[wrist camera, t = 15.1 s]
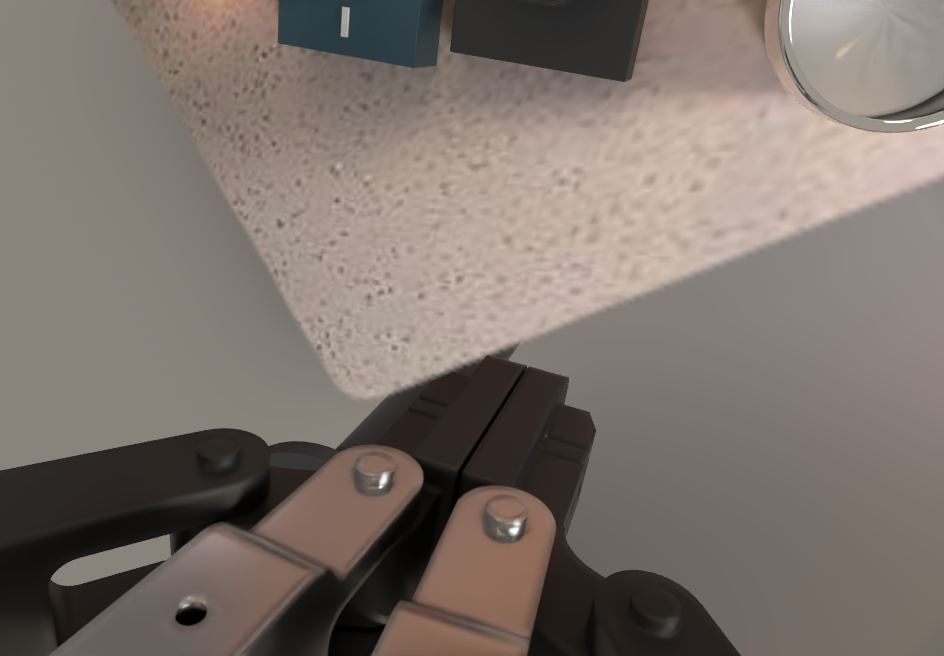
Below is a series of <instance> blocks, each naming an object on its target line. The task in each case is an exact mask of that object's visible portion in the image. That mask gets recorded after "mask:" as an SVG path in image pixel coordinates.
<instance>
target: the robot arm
mask: <svg viewBox="0 0 944 656" xmlns="http://www.w3.org/2000/svg"><path fill="white" fill-rule="evenodd" d="M568 383H569V377H565V376H561V375H558V374H554V373H551V372H547V371H544V370H540V369H536V368H533V367H528V369H527V366H526V365H522V364H519V363H515V362H512V361H508V360H505V359H501V358H498V357H494V356H491V355H487V356H486V357H485V359H484V360H483V361H482V362H481V364H480V365H479V366H478V368H477V369H476V370H475V371H474V373H473V374H472V375H471V376H470V377H468V376H464V375H461V374H457V373H454V372H453V373H450V374H448V375H446V376H443V377H441V378H439V379H436V380H434V381H432V382H431V383H430V384H429V385H428V386H427V387H426V388H425V390H424V391H423V392H422V393H421V394H420V395H419V398H418V399H416V400H415V401H414V402H413V403H412V404H411V405H410V406H409V409H408V410H406V411H405V412H404V413H403V414H402V416H401V417H400V418H399V419H398V420H397V421H396V422H395V423H394V425H393V426H392V427H391V428H390V429H389V430H388V431H387V432H386V434H385V435H384V436H383V437H382V438H381V439H380V440H379V441H378V443H377V444H376V445H362V446H356V447H352V448H349V449H346V450H344V451H342V452H340V453H338V454H336V455H335V456H334V457H332V458H331V459H330V460H329V461H328V462H327V463H326V464H325V465H323V466H322V467H321V468H320V469H319V470H318V471H311V470H299V469H290V468H280V467H271V453H270V449H269V446H268V445H267V444H266V442H265V441H264V440H263V439H261V438H260V437H258V436H257V435H255V434H252V433H250V432H247V431H243V430H238V429H227V428H222V429H211V430H204V431H199V432H195V433H190V434H184V435H179V436H174V437H169V438H164V439H159V440H154V441H149V442H143V443H138V444H134V445H128V446H123V447H118V448H113V449H108V450H103V451H98V452H93V453H87V454H83V455H77V456H72V457H67V458H62V459H57V460H52V461H47V462H42V463H37V464H32V465H27V466H22V467H17V468H11V469H6V470H1V471H0V656H741V655H740V654H739V653H738V652H737V651H736V649H735V648H734V646H733V645H732V644H731V642H730V641H729V640H728V638H727V637H726V636H725V634H724V633H723V632H722V631H721V629H720V628H719V627H718V626H717V624H716V623H715V621H714V620H713V619H712V617H711V616H710V615H709V613H708V612H707V611H706V610H705V608H704V607H703V606H702V604H701V603H700V602H699V601H698V600H697V599H696V598H695V597H694V596H693V595H692V594H691V593H690V592H689V591H688V590H686V589H685V588H684V587H682V586H681V585H679V584H678V583H676V582H674V581H672V580H670V579H668V578H666V577H663V576H661V575H658V574H655V573H652V572H647V571H641V570H640V571H639V570H627V571H621V572H617V573H614V574H612V575H610V576H608V577H607V578H604V577H603V576H601V575H600V574H598V573H597V572H595V571H594V570H592V569H591V568H589V567H588V566H587V565H585V564H584V563H583V562H582V561H581V560H580V559H579V558H578V557H577V556H576V555H575V554H574V553H573V551H572V550H571V548H570V547H569V545H568V543H567V541H566V535H567V533H568V530H569V526H570V523H571V520H572V518H573V515H574V512H575V509H576V506H577V503H578V500H579V496H580V492H581V488H582V484H583V480H584V476H585V472H586V468H587V464H588V460H589V456H590V453H591V449H592V445H593V440H594V436H595V433H596V429H595V426H594V424H593V421H592V418H591V415H590V412H587V411H584V410H580V409H576V408H573V407H570V406H567V405H564V402H565V398H566V394H567V389H568ZM167 534H170V547H171V557H169V558H168V559H167V560H165V561H161V562H158V563H154V564H150V565H147V566H143V567H140V568H136V569H133V570H129V571H126V572H122V573H119V574H115V575H112V576H108V577H105V578H101V579H97V580H94V581H91V582H87V583H83V584H80V585H75V586H62V585H58V584H56V583H54V582H53V581H52V580H51V577H52V575H53V574H54V573H55V572H56V571H57V570H58V569H59V568H60V567H61V566H63V565H64V564H66V563H67V562H70V561H72V560H74V559H77V558H80V557H84V556H88V555H92V554H96V553H99V552H103V551H107V550H111V549H114V548H118V547H122V546H126V545H130V544H133V543H137V542H141V541H145V540H148V539H152V538H156V537H160V536H163V535H167Z"/></svg>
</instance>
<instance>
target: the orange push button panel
mask: <svg viewBox="0 0 944 656" xmlns="http://www.w3.org/2000/svg"><path fill="white" fill-rule="evenodd" d="M648 1H649V0H456V4H455V13H454V21H453V30H452V39H451V47H450V51H451V52H455V53H461V54H467V55H472V56H478V57H484V58H490V59H495V60H501V61H507V62H513V63H518V64H524V65H530V66H536V67H541V68H547V69H553V70H559V71H565V72H570V73H576V74H582V75H588V76H593V77H599V78H605V79H611V80H616V81H622V82H625V81H628V80H630V79H631V78H632V73H633V69H634V64H635V60H636V55H637V51H638V46H639V42H640V37H641V33H642V28H643V24H644V19H645V15H646V10H647V6H648Z"/></svg>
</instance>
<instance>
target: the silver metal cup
mask: <svg viewBox="0 0 944 656" xmlns="http://www.w3.org/2000/svg"><path fill="white" fill-rule="evenodd" d="M764 35H765V44H766V50H767V54H768V57H769V61H770V64H771V66H772V69H773V71H774V73H775V75H776V77H777V79H778V80H779V82H780V83H781V85H782V86H783V87H784V89H785V90H786V91H787V92H788V93H789V95H790V96H791V97H792V98H793V99H795V100H796V101H797V102H798V103H799V104H801V105H802V106H803V107H805V108H806V109H808V110H809V111H811V112H813V113H815V114H817V115H818V116H820V117H822V118H825V119H827V120H830V121H832V122H835V123H839V124H842V125H847V126H850V127H854V128H857V129H861V130H866V131H872V132H884V133H899V132H910V131H916V130H922V129H927V128H931V127H934V126H938V125H941V124H944V0H768V1H767V6H766V12H765V22H764Z"/></svg>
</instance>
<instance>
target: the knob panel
mask: <svg viewBox="0 0 944 656" xmlns="http://www.w3.org/2000/svg"><path fill="white" fill-rule="evenodd" d="M442 5H443V0H279V21H278V43H280V44H286V45H291V46H296V47H302V48H307V49H313V50H318V51H324V52H329V53H335V54H340V55H346V56H351V57H357V58H362V59H368V60H373V61H379V62H384V63H390V64H395V65H401V66H406V67H412V68H417V67H428V66H436V60H437V51H438V41H439V32H440V23H441V14H442Z"/></svg>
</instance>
